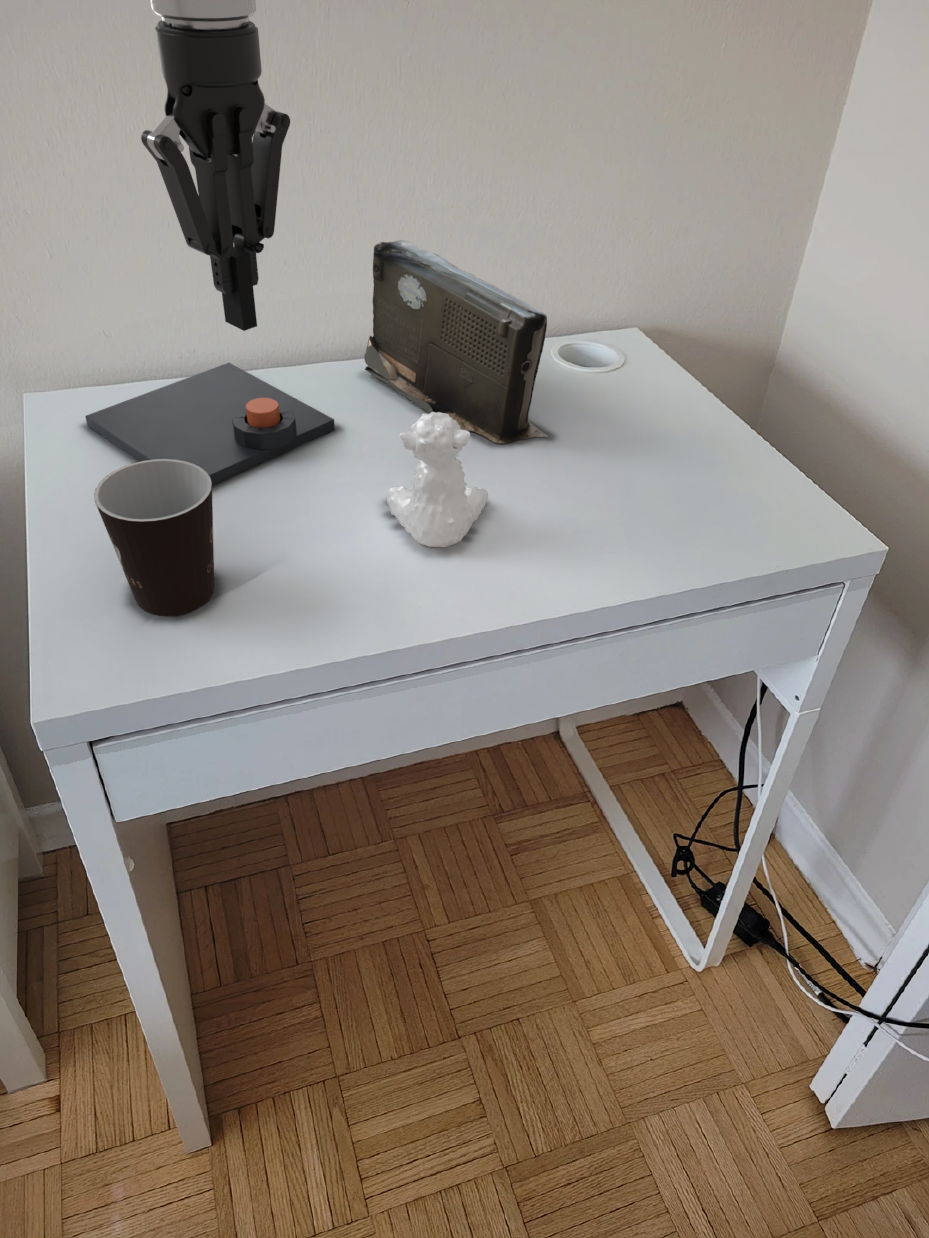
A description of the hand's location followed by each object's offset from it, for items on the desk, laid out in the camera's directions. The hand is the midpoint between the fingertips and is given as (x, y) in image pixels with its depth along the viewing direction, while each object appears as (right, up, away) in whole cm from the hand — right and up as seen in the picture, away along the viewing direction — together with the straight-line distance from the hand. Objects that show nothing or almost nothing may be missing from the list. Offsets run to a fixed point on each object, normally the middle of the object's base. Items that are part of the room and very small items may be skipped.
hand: (241, 323), depth 86 cm
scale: (-6, -7, +13) cm, 16 cm away
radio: (+19, -2, +20) cm, 28 cm away
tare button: (0, -7, +9) cm, 11 cm away
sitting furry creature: (+18, -19, +1) cm, 26 cm away
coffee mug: (-4, -24, -6) cm, 25 cm away
